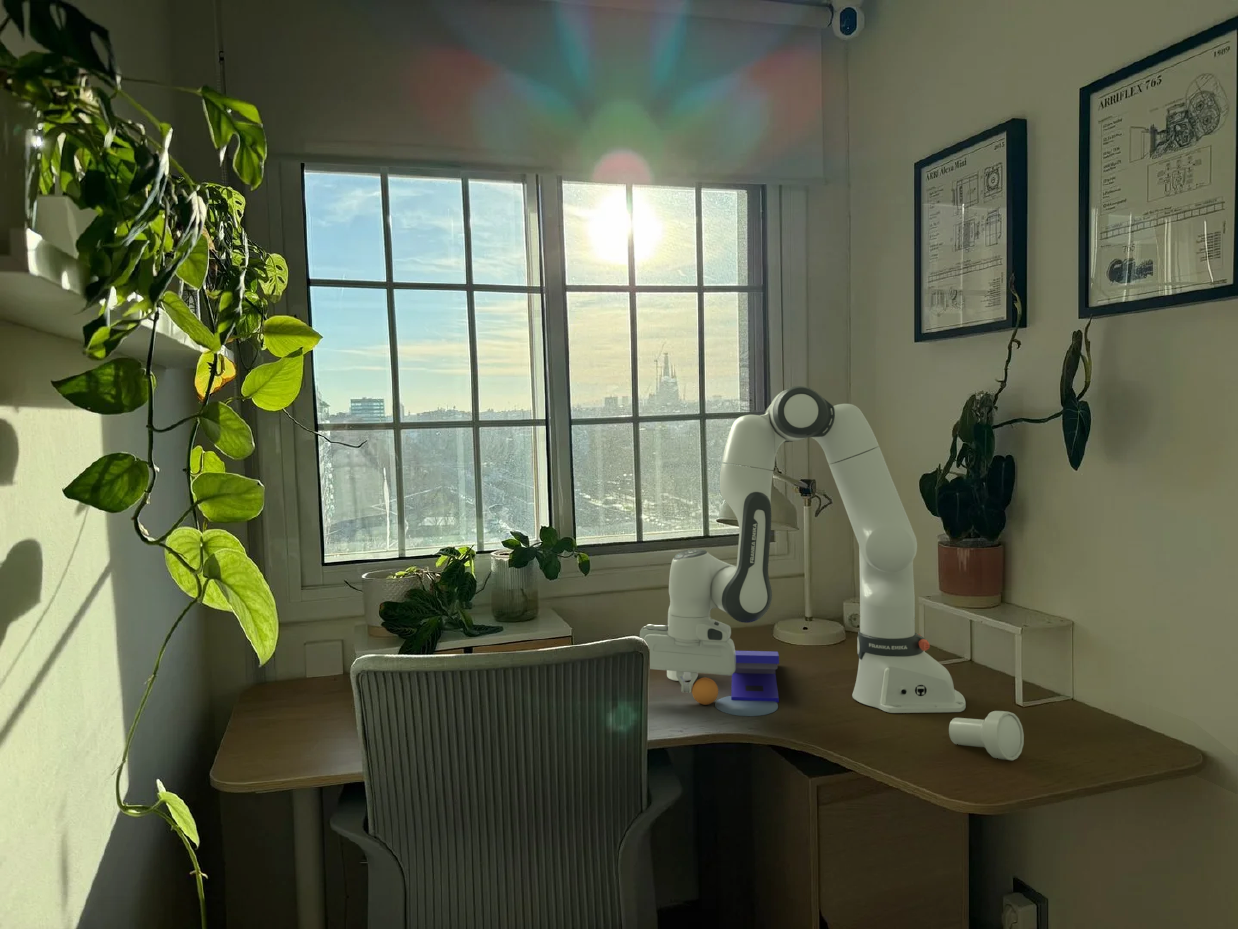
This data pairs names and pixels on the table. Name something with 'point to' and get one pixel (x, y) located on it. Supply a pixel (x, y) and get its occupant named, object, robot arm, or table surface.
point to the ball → (705, 691)
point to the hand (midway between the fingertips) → (686, 692)
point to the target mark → (745, 707)
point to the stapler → (755, 676)
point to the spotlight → (990, 734)
